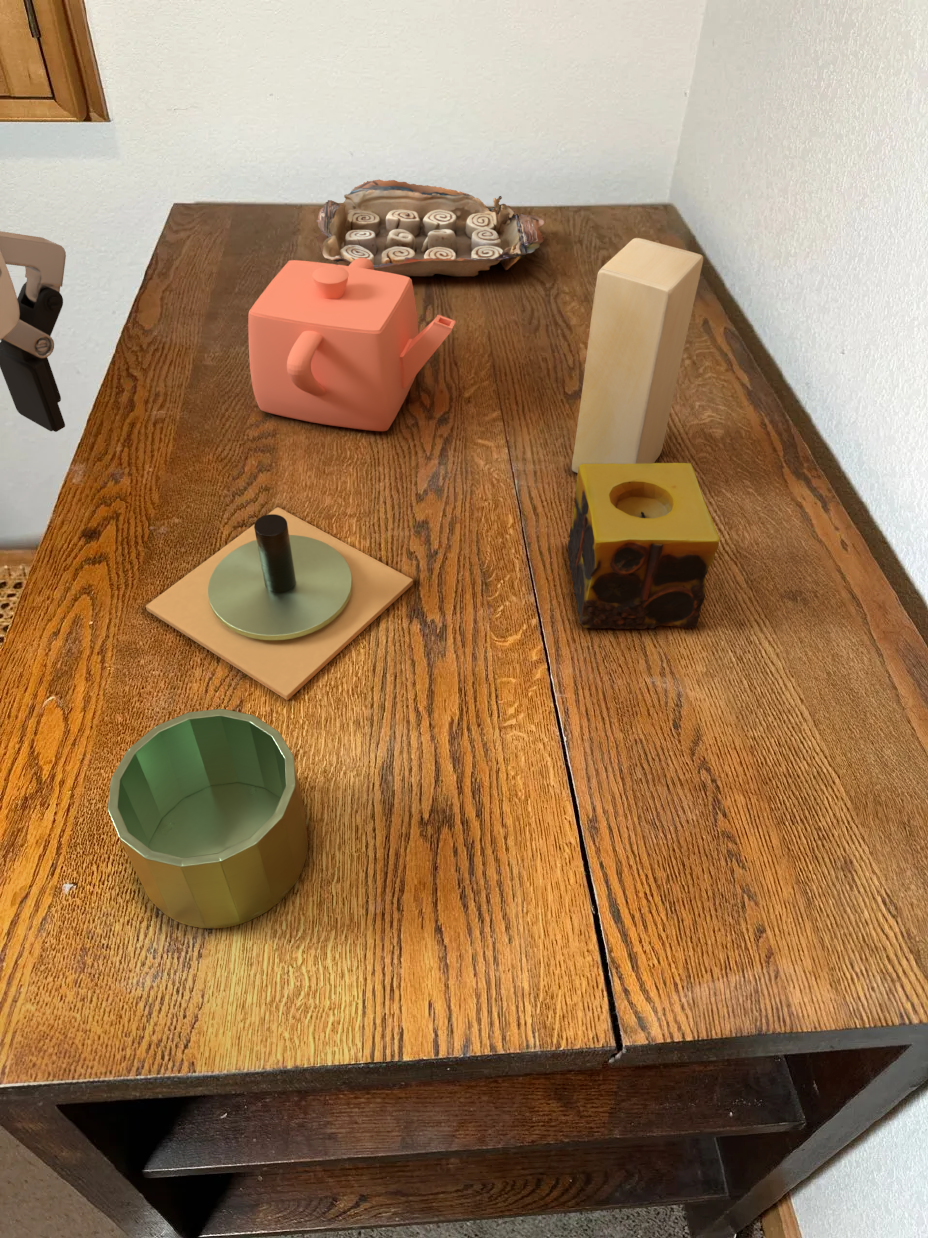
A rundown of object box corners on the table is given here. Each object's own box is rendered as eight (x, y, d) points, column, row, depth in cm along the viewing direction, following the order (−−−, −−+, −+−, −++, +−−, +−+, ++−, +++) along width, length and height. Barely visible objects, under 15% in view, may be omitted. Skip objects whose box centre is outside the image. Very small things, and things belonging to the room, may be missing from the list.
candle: (697, 630, 79) (725, 543, 71) (579, 632, 78) (594, 544, 71) (674, 547, 86) (697, 460, 78) (564, 549, 85) (577, 461, 78)
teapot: (234, 442, 94) (210, 317, 84) (310, 332, 109) (297, 214, 99) (424, 475, 92) (423, 350, 81) (475, 358, 106) (480, 239, 96)
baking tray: (529, 212, 132) (532, 172, 128) (559, 287, 118) (563, 245, 114) (316, 218, 129) (313, 178, 125) (320, 297, 115) (316, 254, 111)
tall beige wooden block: (597, 429, 98) (628, 232, 82) (662, 452, 95) (707, 254, 80) (562, 469, 93) (589, 268, 77) (630, 495, 90) (671, 293, 75)
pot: (224, 963, 58) (199, 901, 52) (105, 866, 63) (69, 798, 56) (341, 835, 65) (332, 766, 58) (225, 754, 69) (205, 682, 63)
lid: (285, 668, 74) (273, 601, 68) (180, 602, 78) (160, 534, 73) (381, 582, 81) (377, 515, 75) (278, 526, 85) (268, 458, 80)
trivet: (287, 700, 72) (286, 696, 72) (146, 610, 78) (145, 605, 78) (413, 584, 81) (413, 579, 81) (278, 511, 87) (277, 506, 87)
